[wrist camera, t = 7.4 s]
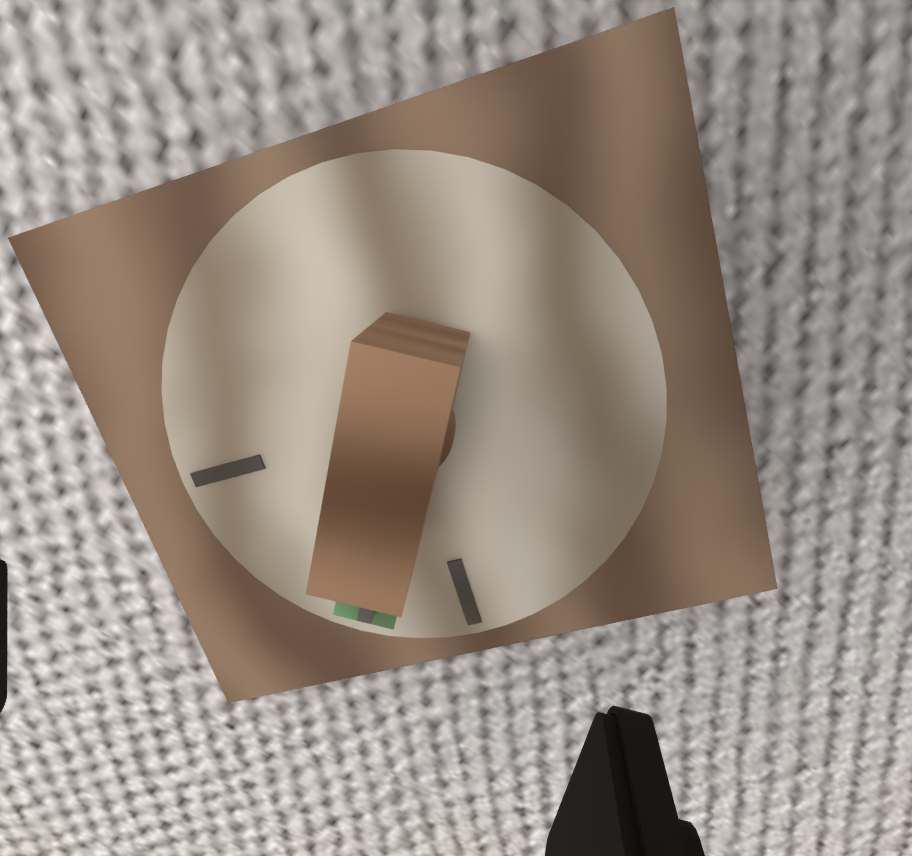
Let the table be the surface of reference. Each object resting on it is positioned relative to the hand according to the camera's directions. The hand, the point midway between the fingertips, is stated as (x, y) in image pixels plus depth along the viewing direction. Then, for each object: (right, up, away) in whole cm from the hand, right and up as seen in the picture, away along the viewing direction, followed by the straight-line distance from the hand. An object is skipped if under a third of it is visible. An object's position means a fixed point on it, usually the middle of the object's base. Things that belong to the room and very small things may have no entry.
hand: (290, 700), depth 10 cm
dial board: (+1, +5, +16) cm, 17 cm away
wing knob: (0, +2, +15) cm, 15 cm away
